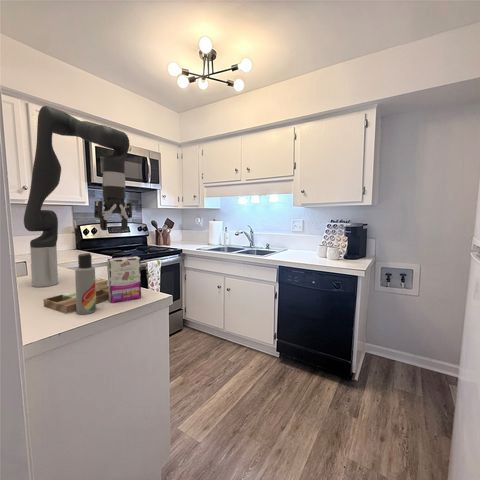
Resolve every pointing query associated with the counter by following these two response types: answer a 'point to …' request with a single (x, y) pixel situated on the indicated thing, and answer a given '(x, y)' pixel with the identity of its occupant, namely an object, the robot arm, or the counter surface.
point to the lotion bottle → (85, 285)
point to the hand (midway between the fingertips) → (114, 229)
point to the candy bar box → (124, 279)
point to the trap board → (72, 300)
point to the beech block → (101, 283)
